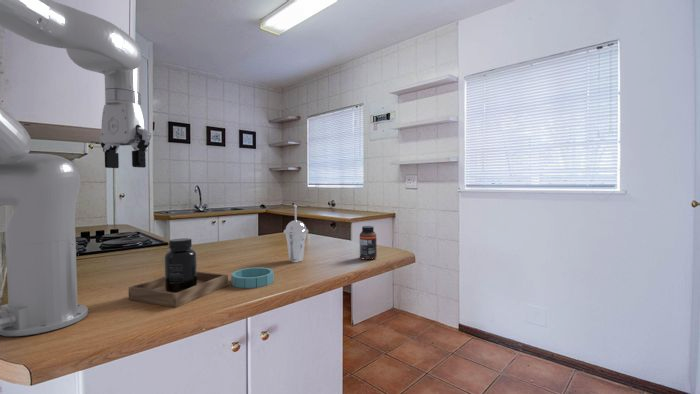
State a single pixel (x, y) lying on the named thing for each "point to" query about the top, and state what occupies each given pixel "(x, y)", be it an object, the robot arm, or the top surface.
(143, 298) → the tray
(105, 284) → the top surface
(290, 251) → the cup with straw
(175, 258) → the supplement bottle
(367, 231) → the supplement bottle
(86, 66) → the robot arm
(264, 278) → the holder ring
